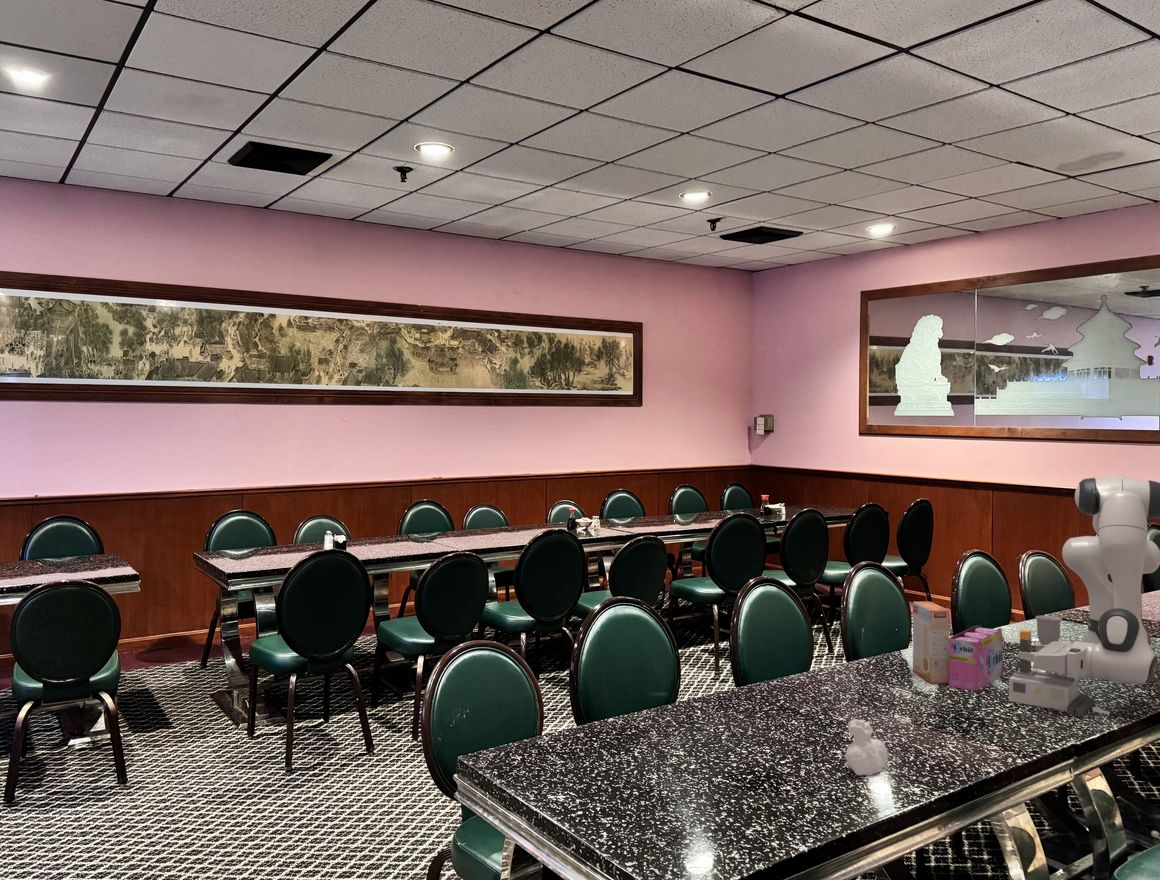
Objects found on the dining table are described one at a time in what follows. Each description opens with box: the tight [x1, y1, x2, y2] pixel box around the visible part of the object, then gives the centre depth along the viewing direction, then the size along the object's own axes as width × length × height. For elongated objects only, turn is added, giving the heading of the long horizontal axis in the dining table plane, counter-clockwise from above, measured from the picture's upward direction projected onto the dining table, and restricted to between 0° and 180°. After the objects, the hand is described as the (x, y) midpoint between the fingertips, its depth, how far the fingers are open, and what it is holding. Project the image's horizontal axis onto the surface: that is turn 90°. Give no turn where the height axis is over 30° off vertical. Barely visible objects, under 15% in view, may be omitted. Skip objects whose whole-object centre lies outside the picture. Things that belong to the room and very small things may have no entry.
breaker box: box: [1008, 669, 1079, 712], centre depth 240 cm, size 11×14×7 cm
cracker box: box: [912, 601, 951, 685], centre depth 264 cm, size 14×6×21 cm, turn 179°
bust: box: [844, 718, 889, 777], centre depth 192 cm, size 12×8×11 cm
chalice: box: [1035, 615, 1063, 674], centre depth 259 cm, size 7×7×18 cm
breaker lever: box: [1015, 629, 1036, 676], centre depth 243 cm, size 4×4×12 cm
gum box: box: [948, 625, 1004, 692], centre depth 261 cm, size 24×8×14 cm, turn 138°
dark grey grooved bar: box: [1066, 693, 1096, 718], centre depth 234 cm, size 16×3×2 cm, turn 140°
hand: (1023, 651), depth 243 cm, fingers open, 8 cm apart
